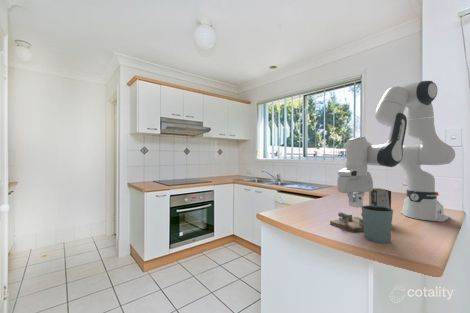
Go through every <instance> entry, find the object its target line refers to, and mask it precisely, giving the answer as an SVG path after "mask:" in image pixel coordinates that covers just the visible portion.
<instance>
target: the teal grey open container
mask: <svg viewBox="0 0 470 313" xmlns="http://www.w3.org/2000/svg"><path fill="white" fill-rule="evenodd" d="M361 213H362V215H361V217H362V216H363V225H364V230H363V237H364V238H365V239H366V240H367V239H368V241H370V242H374V243H378V244H389V243H390V242H391V239H392V227H393V226H392V223H393V215H394V209H392V208H391V209H390V208H387V207H382V206H371V205H369V204H368V205H363V206H362V207H361Z"/></svg>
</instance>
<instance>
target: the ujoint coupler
mask: <svg viewBox="0 0 470 313" xmlns="http://www.w3.org/2000/svg"><path fill="white" fill-rule="evenodd" d="M352 196H353V198H354V199H355V200H354V202H349V201H348V206H349V207H352V208H353V207H354V208H356V209H357V208H362V206H364V205H363V204H364V202H363V201H364V196H363V194H360V193H358V192H355V193H353V195H352Z"/></svg>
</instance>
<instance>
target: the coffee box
mask: <svg viewBox="0 0 470 313" xmlns="http://www.w3.org/2000/svg"><path fill="white" fill-rule="evenodd" d="M368 205H371V206H382V207H387V208H390V209H392V191H391V190H388V189H385V188H378V187H377V188H376V187H375V188H374V187H373V190H372V191H369V192H368Z"/></svg>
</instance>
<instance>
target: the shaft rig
mask: <svg viewBox="0 0 470 313" xmlns="http://www.w3.org/2000/svg"><path fill="white" fill-rule="evenodd" d="M337 216H338V219H334V220H330V222H329V223H330V224H329V225H332V226H334V227H338V228H340V229H343V230H345V231H349V232H352V233H358V232H362V231H363V232H364V225H363V216H362V212H361V217H359V216H353V214H352V213H350V214H349V213H348V214H347V213H343V212H341V211H339V212H338V215H337Z"/></svg>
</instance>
